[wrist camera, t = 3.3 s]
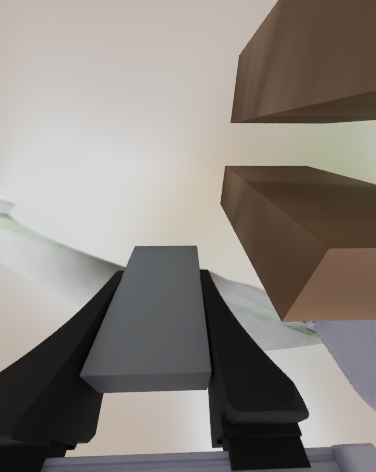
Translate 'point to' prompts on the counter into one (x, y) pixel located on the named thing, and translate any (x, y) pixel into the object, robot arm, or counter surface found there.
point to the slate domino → (153, 327)
